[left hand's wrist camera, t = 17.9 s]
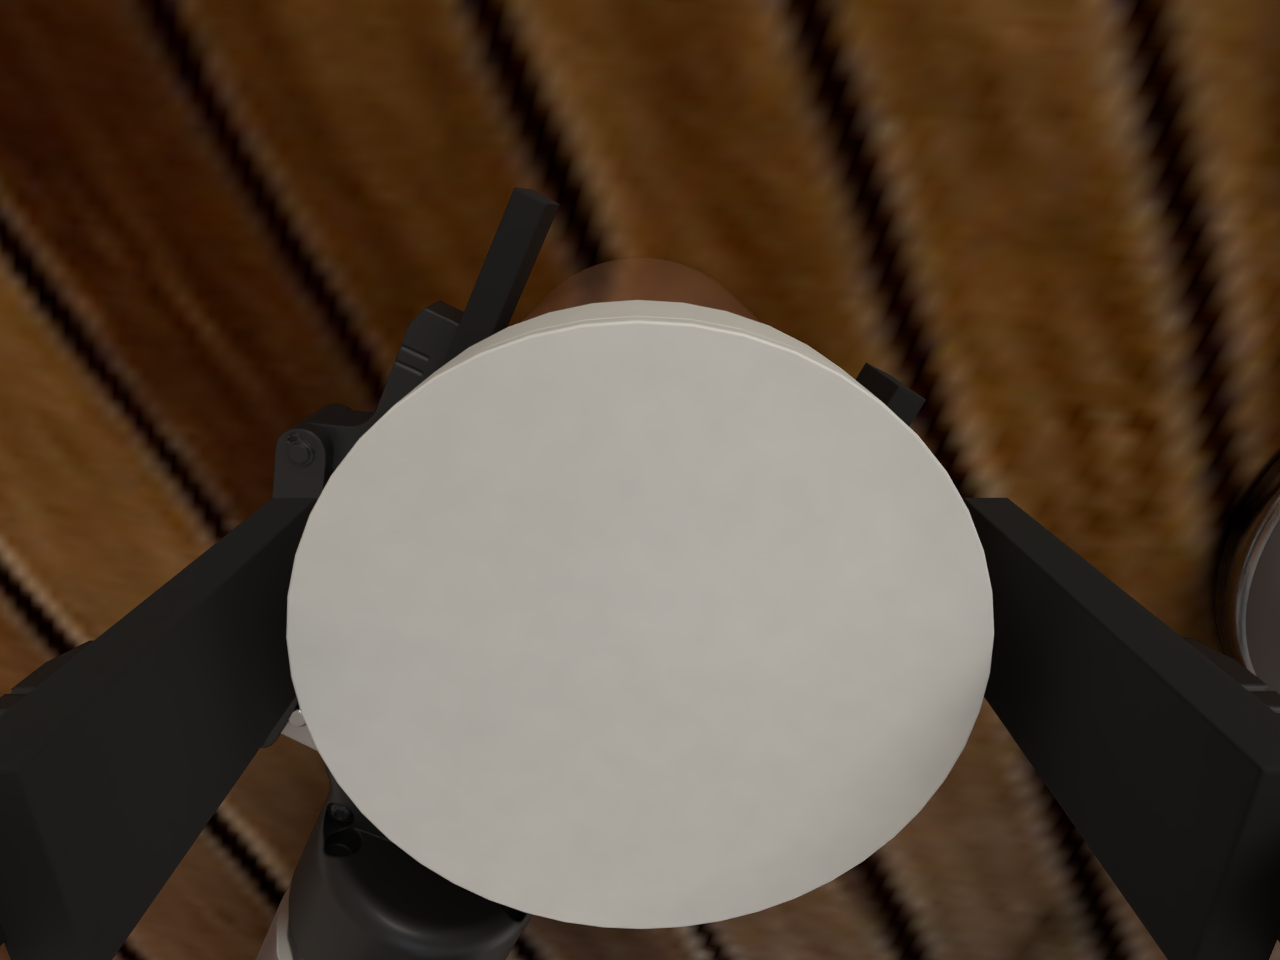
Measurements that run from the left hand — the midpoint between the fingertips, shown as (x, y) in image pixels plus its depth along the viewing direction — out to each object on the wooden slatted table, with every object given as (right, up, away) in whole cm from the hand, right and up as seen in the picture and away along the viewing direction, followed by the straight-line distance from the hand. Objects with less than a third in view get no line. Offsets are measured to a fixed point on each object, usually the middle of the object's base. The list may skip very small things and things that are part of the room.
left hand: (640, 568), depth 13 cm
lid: (0, -1, -3) cm, 3 cm away
